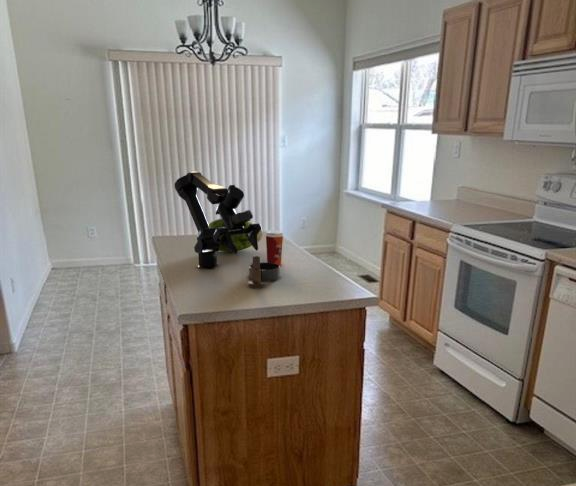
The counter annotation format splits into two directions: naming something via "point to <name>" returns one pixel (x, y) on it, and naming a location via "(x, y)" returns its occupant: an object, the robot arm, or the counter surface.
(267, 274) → the tub
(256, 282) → the brown stepped tower
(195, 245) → the robot arm
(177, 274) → the counter surface
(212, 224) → the lettuce
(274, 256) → the paper cup
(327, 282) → the counter surface
